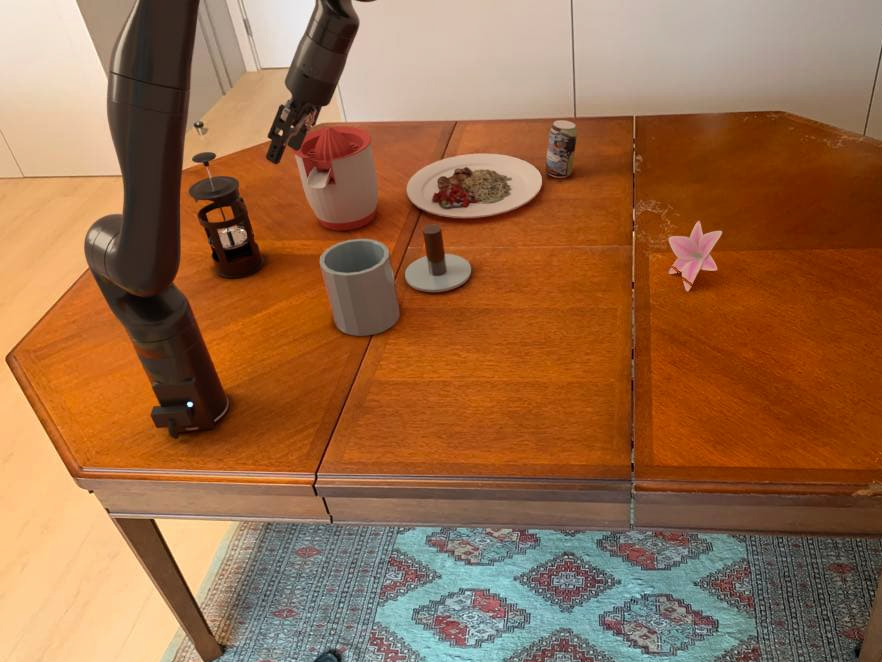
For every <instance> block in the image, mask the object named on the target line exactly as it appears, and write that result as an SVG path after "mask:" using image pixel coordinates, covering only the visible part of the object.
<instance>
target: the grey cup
mask: <svg viewBox="0 0 882 662" xmlns="http://www.w3.org/2000/svg"><path fill="white" fill-rule="evenodd" d="M392 264H393V263H392V260H391V254H390V249H389V248H388V247H387V246H386V244H384V243H383V242H381V241H378V240H376V239H372V238H354V239H347V240H344V241H340V242H337V243H335V244H334V245H331V246H330V247H328V248H326V249H325V250H324V252H323V253H322V254H321V255H320V257H319V268H320V271H321V274H322V279H323V284H324V287H325V290H326V295H327V299H328V303H329V306H330V311H331V315H332V318H333V322H334V324H335V326H336V328H337V329H338V330H339V331H340V332H342V333H345V334H346V335H349V336H355V337H356V336H357V337H366V336H373V335H376V334H377V335H378V334H380V333H383V332H384V331H386V330H389V329H390V328H391V327H393V326H394V325H395V324H396V323H397V322H398V320H399V319H400V316H401V310H400V309H401V307H400V302H399V297H398V291H397V287H396V285H397V284H396V281H395V275H394V270H393V265H392Z"/></svg>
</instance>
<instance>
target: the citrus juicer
mask: <svg viewBox="0 0 882 662" xmlns="http://www.w3.org/2000/svg"><path fill="white" fill-rule="evenodd" d="M371 137H372V136H371V135H370V134H369V132H368V131H366V130H364V129H362V128H358V127H353V126H340V125H339V126H327V127H323V128H319V129H315V130H311V131H309V132H307V134H306V136H305V139H304V141H303V143H302V146H301V148H300V150H298V151H296V150H294V149H292V148H291V149H292V153H293V154H294V156H295V160H296V165H297V168H298V172H299V176H300V181H301V184H302V189H303V191H304V194H305V198H306V200H307V203H308V204H309V206H310V208H311V210H312V211H313V214H314V216H315V217H316V219H317V220H318V221H319V223H320V224H321V225H322V226H323V227H325V228H326V229H329V230H333V231H349V230H350V231H351V230H358V229H360V228H361V227H364V226H365V225H366V226H367V224H369V223H371V222H372V221H373V220H374V219H375V216H376V213H377V208H378V198H379V185H378V177H377V171H376V166H375V161H374V155H373V149H372V144H371V142H372V138H371Z"/></svg>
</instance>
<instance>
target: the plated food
mask: <svg viewBox="0 0 882 662" xmlns="http://www.w3.org/2000/svg"><path fill="white" fill-rule="evenodd" d="M542 186H543V177H542V175H541V172H540V171H539V170H538V168H536V166H535V165H533V164H531V163H529V162H528V161H526V160H523V159H522V158H521V159H520V158H518V157H514V156H510V155H506V154H500V153H469V154H461V155H455V156H451V157H447V158H443V159H440V160H437V161H434V162H432V163H430V164H428V165H425V166H424V167H422V168H420V169H419V170H418V171H416V172H415V173H414V174H413V175H412V176H411V177H410V179H409V180H408V182H407V184H406V194H407V198H408V199H409V201H410V202H411V204H413V205H414V206H415V207H417V208H418V209H420V210H422V211H424V212H426V213H428V214H432V215H436V216H439V217H445V218H453V219H476V218H477V219H478V218H479V219H480V218H486V217H492V216H497V215H502V214H505V213H508V212H510V211H513V210H516V209H519V208H520V207H522V206H524V205H526V204H528V203H529V202H531V201H532V200H533V199H534V198H536V196H537V195H538V194H539V193H540V191H541V188H542Z"/></svg>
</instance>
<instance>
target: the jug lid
mask: <svg viewBox="0 0 882 662" xmlns="http://www.w3.org/2000/svg"><path fill="white" fill-rule="evenodd" d="M442 229H443V228H442V226H441V225H439V224H435V223H432V224H427V225H425V226H424V227H423V228H422V235H423V243H424V248H425V255H426V256H425V255H424V256H422V257H420V258H417V259H416V260H414V261H412V262H411V263H410V264H409V265H408V266H407V267H406V269H405V271H404V279H405V281H406V283H407V285H409V286H410V287H411V288H413V289H415V290H417V291H420V292H424V293H425V292H426V293H441V292H447V291H450V290H454V289H457V288H459V287H460V286H462V285H464V284H465V283H467V282H468V280H469V279H470V278H471V275H472V266H471V264H470V262H469V261H468V260H467V259H466V258H464V257H463V256H460V255H457V254H452V253H446V252H445V245H444V239H443V238H444V237H443V230H442Z"/></svg>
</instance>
